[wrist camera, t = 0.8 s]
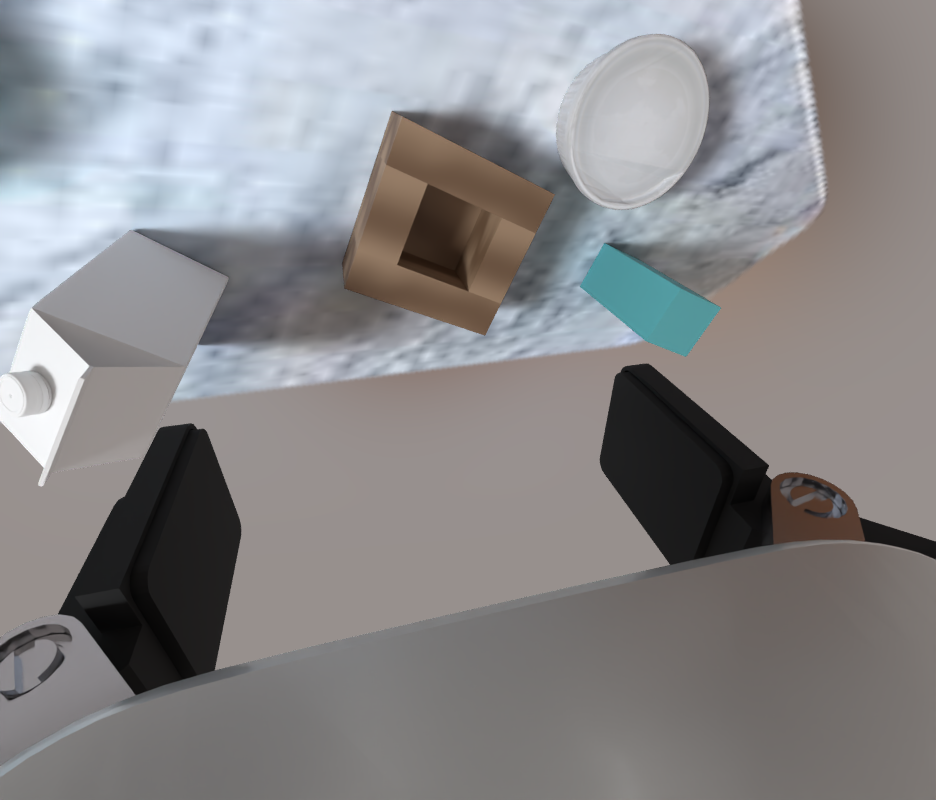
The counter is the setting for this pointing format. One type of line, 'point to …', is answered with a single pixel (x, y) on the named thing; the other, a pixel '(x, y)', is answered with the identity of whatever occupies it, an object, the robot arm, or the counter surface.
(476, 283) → the socket block
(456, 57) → the counter surface
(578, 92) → the ramekin
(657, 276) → the peg
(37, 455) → the milk carton
